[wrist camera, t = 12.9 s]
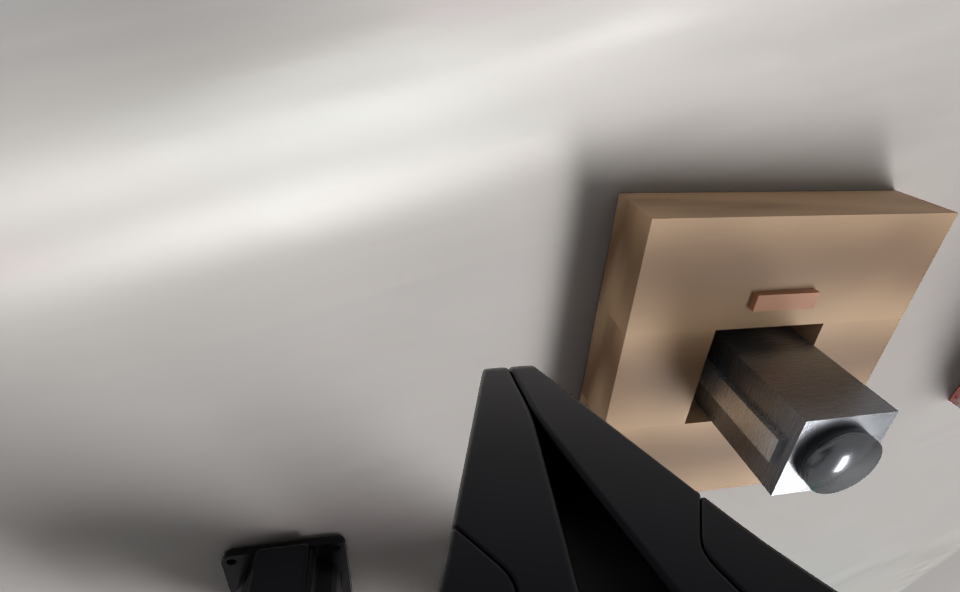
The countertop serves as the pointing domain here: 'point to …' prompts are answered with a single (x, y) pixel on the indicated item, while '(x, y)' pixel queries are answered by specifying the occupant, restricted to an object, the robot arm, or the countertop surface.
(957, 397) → the white upright block
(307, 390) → the countertop surface
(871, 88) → the countertop surface
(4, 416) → the countertop surface
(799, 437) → the peg
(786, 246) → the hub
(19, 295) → the countertop surface
